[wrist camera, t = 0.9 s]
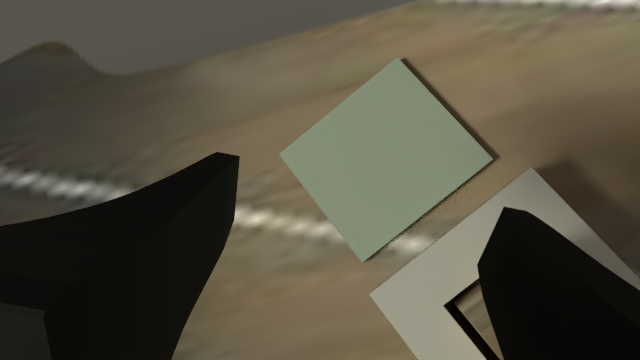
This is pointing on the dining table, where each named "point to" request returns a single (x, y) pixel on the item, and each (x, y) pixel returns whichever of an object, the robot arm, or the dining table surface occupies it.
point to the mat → (383, 159)
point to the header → (474, 268)
